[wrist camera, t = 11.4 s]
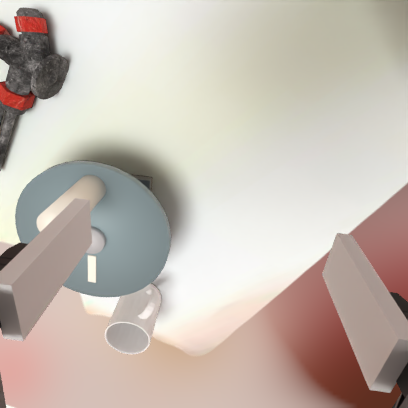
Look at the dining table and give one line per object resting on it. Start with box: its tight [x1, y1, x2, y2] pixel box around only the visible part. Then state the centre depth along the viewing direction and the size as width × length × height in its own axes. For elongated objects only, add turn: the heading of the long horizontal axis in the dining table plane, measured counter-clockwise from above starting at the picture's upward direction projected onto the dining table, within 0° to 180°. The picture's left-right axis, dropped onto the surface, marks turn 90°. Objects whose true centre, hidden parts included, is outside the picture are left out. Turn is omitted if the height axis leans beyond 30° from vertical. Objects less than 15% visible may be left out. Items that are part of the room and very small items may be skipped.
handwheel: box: [15, 161, 171, 297], centre depth 41 cm, size 22×22×12 cm
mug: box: [105, 283, 161, 354], centre depth 57 cm, size 12×8×10 cm, turn 145°
